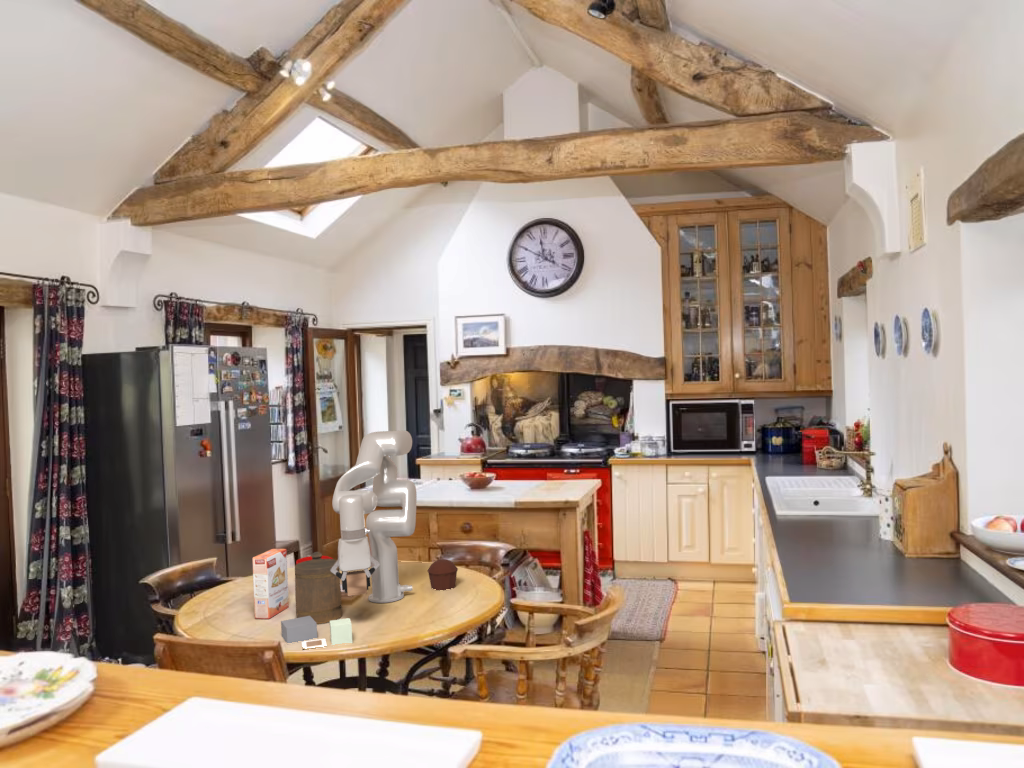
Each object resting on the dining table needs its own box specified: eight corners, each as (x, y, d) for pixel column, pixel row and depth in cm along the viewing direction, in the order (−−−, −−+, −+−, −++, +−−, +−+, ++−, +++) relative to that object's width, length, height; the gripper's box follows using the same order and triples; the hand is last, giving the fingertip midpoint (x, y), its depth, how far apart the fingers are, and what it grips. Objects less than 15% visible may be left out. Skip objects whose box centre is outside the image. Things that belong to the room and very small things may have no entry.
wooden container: (349, 611, 269) (346, 547, 269) (329, 625, 255) (326, 557, 254) (309, 610, 272) (306, 547, 272) (288, 624, 258) (284, 557, 258)
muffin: (461, 589, 290) (459, 562, 289) (431, 593, 287) (429, 565, 287) (455, 581, 301) (454, 555, 301) (426, 585, 298) (425, 558, 298)
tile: (325, 639, 241) (325, 637, 241) (326, 646, 234) (326, 645, 234) (301, 642, 239) (301, 641, 239) (302, 650, 232) (302, 648, 232)
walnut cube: (365, 588, 254) (364, 569, 254) (367, 593, 249) (366, 574, 248) (346, 590, 253) (345, 572, 253) (347, 596, 247) (346, 577, 247)
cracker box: (270, 619, 264) (267, 557, 264) (254, 619, 265) (250, 557, 265) (290, 607, 278) (287, 547, 278) (274, 606, 279) (271, 548, 279)
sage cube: (350, 637, 242) (349, 618, 242) (352, 643, 236) (351, 623, 236) (330, 640, 240) (329, 620, 240) (332, 646, 234) (330, 626, 234)
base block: (310, 631, 250) (309, 615, 250) (317, 639, 242) (316, 623, 242) (281, 636, 246) (280, 621, 246) (287, 645, 238) (286, 628, 238)
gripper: (378, 528, 256) (382, 583, 257) (324, 535, 251) (327, 590, 252) (381, 533, 249) (385, 589, 250) (326, 539, 244) (329, 597, 245)
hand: (356, 589), depth 251 cm, fingers closed on walnut cube, 6 cm apart
